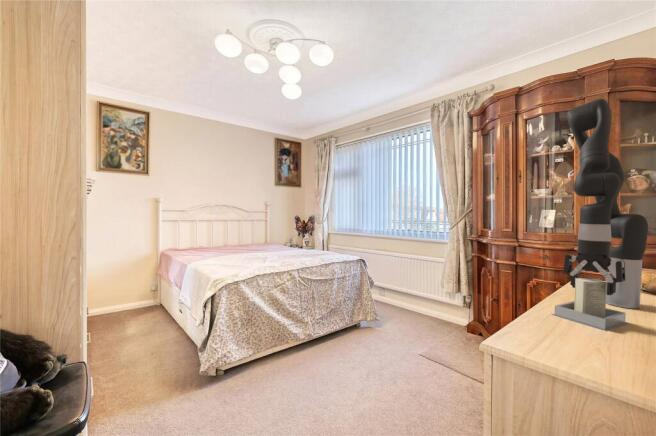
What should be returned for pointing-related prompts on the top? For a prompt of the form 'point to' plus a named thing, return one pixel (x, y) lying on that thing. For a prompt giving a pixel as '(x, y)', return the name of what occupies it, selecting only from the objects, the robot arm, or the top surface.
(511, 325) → the top surface
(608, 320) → the shallow grey tray
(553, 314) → the slate base plate
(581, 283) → the skincare box
